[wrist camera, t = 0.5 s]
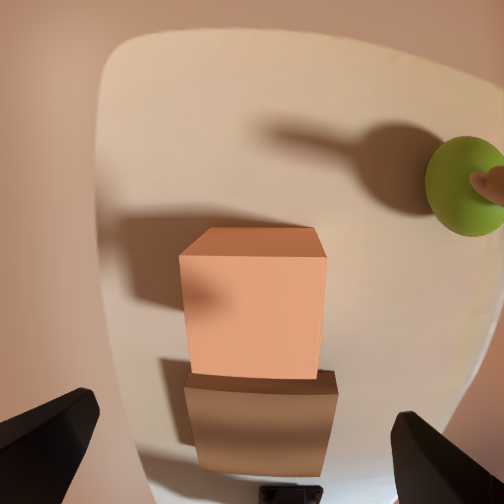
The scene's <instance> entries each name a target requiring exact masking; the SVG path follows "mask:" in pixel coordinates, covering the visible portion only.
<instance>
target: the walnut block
mask: <svg viewBox="0 0 504 504" xmlns="http://www.w3.org/2000/svg"><path fill="white" fill-rule="evenodd" d="M183 388H184V393H185V399H186V404H187V409H188V414H189V419H190V424H191V429H192V434H193V438H194V443H195V447H196V452H197V456H198V460H199V464H200V468H201V470H206V471H213V472H221V473H230V474H241V475H253V476H271V477H320V474H321V470H322V466H323V462H324V458H325V454H326V450H327V446H328V442H329V437H330V433H331V428H332V424H333V419H334V414H335V409H336V404H337V399H338V389H337V383H336V378H335V372H334V371H317V378H316V379H272V378H249V377H233V376H219V375H208V374H197V373H192V369H191V371H190V374H189V376H188V378H187V380H186V382H185V384H184V387H183Z"/></svg>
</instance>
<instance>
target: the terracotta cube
mask: <svg viewBox="0 0 504 504" xmlns="http://www.w3.org/2000/svg"><path fill="white" fill-rule="evenodd" d="M326 263H327V257H326V254H325V252H324V249H323V247H322V245H321V242H320V240H319V238H318V235H317V233H316V231H315V228H284V227H211V228H210V229H209V230H207V231H206V232H205V233H204V234H203V235H202V236H200V237H199V238H198V239H197V240H196V241H195V242H193V243H192V244H191V245H190V246H189V247H188V248H187V249H185V250H184V251H183V252H182V253H181V254H180V255H179V265H180V276H181V286H182V296H183V306H184V315H185V323H186V331H187V339H188V347H189V354H190V362H191V369H192V373H197V374H208V375H219V376H233V377H249V378H272V379H316V378H317V370H318V361H319V352H320V342H321V332H322V320H323V308H324V295H325V280H326Z"/></svg>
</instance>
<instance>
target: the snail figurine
mask: <svg viewBox="0 0 504 504" xmlns="http://www.w3.org/2000/svg"><path fill="white" fill-rule="evenodd" d="M425 191H426V196H427V200H428V203H429V205H430V207H431V209H432V211H433V213H434V214H435V216H436V217H437V219H438V220H439V221H440V222H441V223H442V224H443V225H444V226H445V227H447V228H448V229H449V230H451V231H453V232H455V233H457V234H460V235H463V236H468V237H478V236H483V235H486V234H489V233H491V232H493V231H494V230H496V229H497V228H498V227H500V226H501V225H502V224H503V222H504V156H503V155H502V154H501V153H500V151H499V150H498V149H497V148H495V147H494V146H493V145H492V144H490V143H488V142H487V141H485V140H483V139H480V138H477V137H471V136H461V137H456V138H453V139H451V140H448V141H447V142H445V143H444V144H442V145H441V146H440V147H439V148H438V149H437V150H436V151H435V152H434V154H433V155H432V157H431V159H430V161H429V163H428V166H427V169H426V174H425Z"/></svg>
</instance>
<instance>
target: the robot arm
mask: <svg viewBox="0 0 504 504" xmlns="http://www.w3.org/2000/svg"><path fill="white" fill-rule="evenodd" d="M99 415H100V409H99V406H98V403H97V401H96V398H95V395H94V393H93V391H92V390H90V389H86V388H78V389H76V390H74V391H71V392H69V393H67V394H65V395H62V396H61V397H58V398H56V399H54V400H51V401H49V402H47V403H45V404H42V405H40V406H38V407H36V408H34V409H31V410H29V411H27V412H24V413H22V414H20V415H17V416H15V417H13V418H10V419H8V420H6V421H3V422H1V423H0V504H61V503H62V501H63V499H64V497H65V495H66V493H67V490H68V488H69V486H70V484H71V482H72V480H73V478H74V476H75V473H76V471H77V469H78V467H79V465H80V463H81V461H82V459H83V457H84V455H85V453H86V450H87V448H88V445H89V442H90V440H91V437H92V434H93V431H94V428H95V426H96V423H97V420H98V418H99ZM391 447H392V456H393V466H394V477H395V484H396V489H397V494H398V499H399V504H504V483H502V482H501V481H500V480H498V479H497V478H496V477H494V476H493V475H490V473H489V472H488V471H487V470H485V469H484V468H483V467H482V466H480V465H479V464H478V463H477V462H475V461H474V460H473V459H472V458H470V457H469V456H468V455H467V454H465V453H464V452H463V451H462V450H460V449H459V448H458V447H456V446H455V445H454V444H453V443H452V442H450V441H449V440H448V439H447V438H445V437H444V436H443V435H442V434H440V433H439V432H438V431H437V430H436V429H434V428H433V427H432V426H431V425H429V424H428V423H427V422H426V421H425V420H423V419H422V418H421V417H420V416H418V415H417V414H416V413H415V412H413V411H405V412H400V413H399V414H398V415H397V417H396V420H395V423H394V425H393V428H392V431H391ZM322 494H323V488H322V487H260V488H259V504H319V503H320V500H321V497H322Z"/></svg>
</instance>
